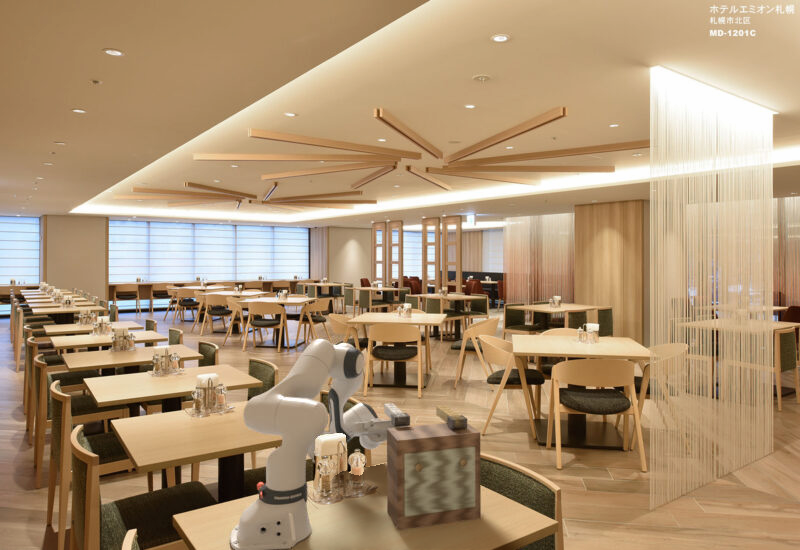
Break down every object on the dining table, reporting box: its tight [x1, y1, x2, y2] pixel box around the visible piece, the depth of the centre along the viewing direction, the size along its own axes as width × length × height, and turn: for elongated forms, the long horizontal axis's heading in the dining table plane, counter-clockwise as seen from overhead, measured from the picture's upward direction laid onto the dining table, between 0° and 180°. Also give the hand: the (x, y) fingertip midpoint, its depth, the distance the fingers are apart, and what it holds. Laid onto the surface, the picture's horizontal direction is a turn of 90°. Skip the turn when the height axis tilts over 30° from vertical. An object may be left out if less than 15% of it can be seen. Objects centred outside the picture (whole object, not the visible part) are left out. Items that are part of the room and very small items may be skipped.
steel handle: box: [383, 402, 411, 427], centre depth 174 cm, size 5×17×3 cm, turn 16°
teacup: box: [307, 430, 330, 464], centre depth 209 cm, size 12×15×10 cm
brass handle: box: [435, 404, 468, 430], centre depth 170 cm, size 5×17×3 cm, turn 16°
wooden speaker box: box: [386, 422, 482, 531], centre depth 161 cm, size 26×14×26 cm, turn 106°
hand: (384, 421), depth 188 cm, fingers open, 8 cm apart
